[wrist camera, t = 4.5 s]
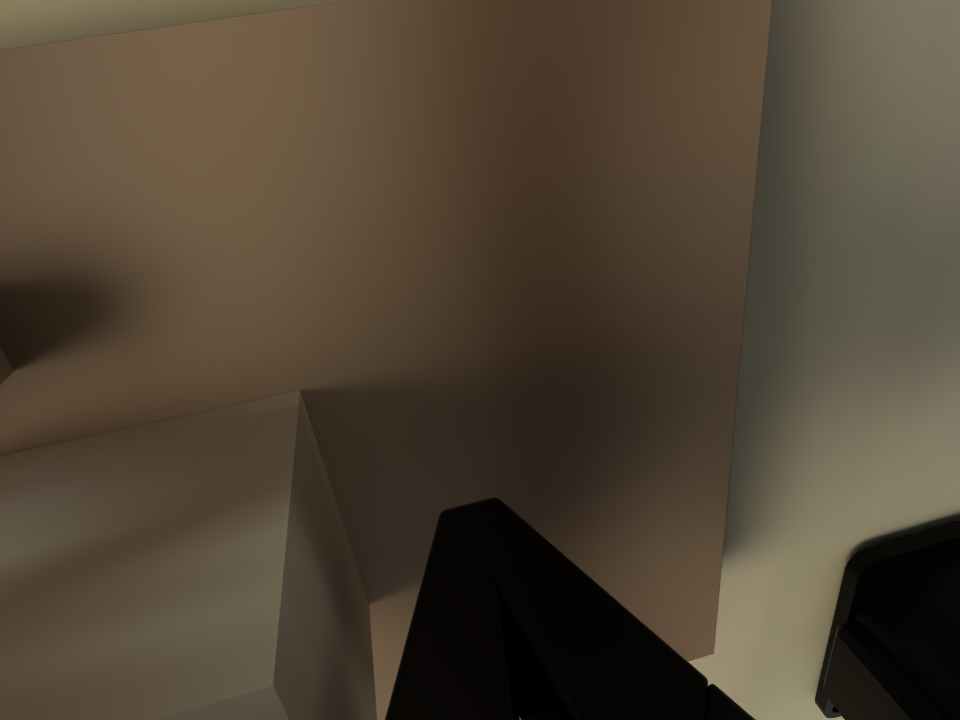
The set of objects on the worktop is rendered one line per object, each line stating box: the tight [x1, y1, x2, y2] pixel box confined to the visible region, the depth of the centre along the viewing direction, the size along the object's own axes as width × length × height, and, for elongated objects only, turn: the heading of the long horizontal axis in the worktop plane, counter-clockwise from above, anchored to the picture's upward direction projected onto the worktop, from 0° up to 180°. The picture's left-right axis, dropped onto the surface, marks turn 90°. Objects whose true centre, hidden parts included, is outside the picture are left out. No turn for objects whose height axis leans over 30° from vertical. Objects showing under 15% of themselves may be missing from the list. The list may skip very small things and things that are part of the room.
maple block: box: [0, 390, 377, 720], centre depth 6 cm, size 4×4×4 cm
